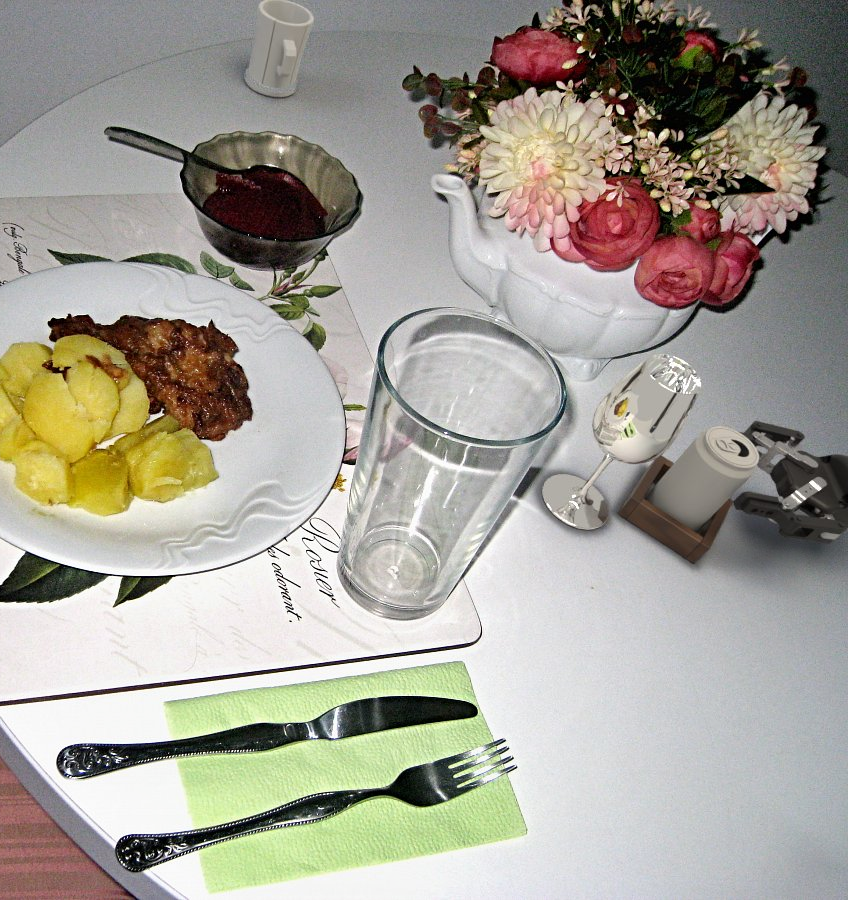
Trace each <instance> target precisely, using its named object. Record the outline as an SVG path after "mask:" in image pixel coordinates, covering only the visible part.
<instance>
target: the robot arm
mask: <svg viewBox="0 0 848 900" xmlns="http://www.w3.org/2000/svg"><path fill="white" fill-rule="evenodd" d="M738 432H739V433H741V434H743V435H744V436H745V437H747V438H748V439H749V440H750V441H751V442H752V443H753V444H754V446H755V447H756V448H757V447H761V448H764V449H766V450H767V451H766V452H765V453H763V452H761V451H760V450H758V449H757V451H758V454H759V461H758V463H757V464H756V467H757V468H759V469H760V470H762V471H763V472H764V473H766V474H767V475H769V476H770V478H771V480H772V481H773V483H774V485H775V488H776V492H777V495H778V496H774V495H768V494H764V493H758V492H753V491H743V492H741V493H740V494H739V495H738V496H737V497H736V498H735V499H734V500H733V503H732V505H733V506H734V509H735V510H736V511H741V512H742V513H743V514H746V515H750V516H757V517H761V518H767V520H768V521H770V522H771V523H773V524H777V526H778V527H779V528H778V530H777V532H778V534H779V535H780V536H781V538H785V539H789V540H790V539H791V540H797V541H805V542H812V543H813V542H814V543H820V544H827V545H830V544H832V543H833V542H834V541H835V540H837V539H838V538H839V537H840V536H842V535H843V534H844V533H845V532H846V531H847V530H848V455H844V454H839V453H837V454H836V453H834V454H829V455H822V456H815V455H813V454H811V453H809V452H808V451H805V450H804V449H803V448H802V444H801V442H803V441H804V439H805V438H806V436H805V434H804V433H803V432H801V431H799V430H796V429H792V428H787V427H783V426H779V425H776V424H772V423H767V422H762V421H760V420H759V421H758V420H753V422H752V423H751V424H750V425H749V426H748V427H747V428H746V430H744V432H743V431H742V432H741V431H738ZM777 455H782V456H783V457H782V458H781V459H780V460H779V461H778V462H777V463H776V464H775V465H774V464H773V463H772V462H771V461H772V459H774V458H775V457H776V456H777ZM779 497H781V498H782V500H781V501H780V499H779ZM798 511H801V512H802V513H804V514H805V515H802V514H795V513H796V512H798Z"/></svg>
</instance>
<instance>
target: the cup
mask: <svg viewBox="0 0 848 900" xmlns="http://www.w3.org/2000/svg"><path fill="white" fill-rule="evenodd" d="M256 15H257V17H256V23H255V30H254V31H255V32H254V37H253V44H252V50H251V55H250V59H249V64H248V66H249V74H250V76H251V77H252V78H253V79H254V80H256V81H257V82H259V85H260V84H262V86H263V85H265V86H263V87H266V86H267V88H269V87H273V88H272V89H274V88H282V87H283V88H284V87H287V86H289V85H292V84H293V83H294V82H295V80H296V78H297V76H298V73H299V69H300V66H301V61H302V58H303V55H304V51H305V49H306V45H307V42H308V40H309V37H310V33H311V30H312V28H313V24H314V21H315V17H314V14H313V13H312V12H311V11H310V10H309V9H307V8H306V7H305V6H302V5H301V4H298V3H296V2H294V1H290V0H263V1H262V0H261V2H259V4H258V8H257V14H256ZM243 77H244V81H245V83H246V84H247V86H248V87H249V88H250V89H252V91H254V92H256V93H257V94H260V95H263V96H267V97H270V98H286V97H290V96H291V95H293V94H294V93H295V92H293V91H291V92H287V93H274V92H269V91H266V90H263V89H260V88H258V87H256V86H254V85H253V84H251V83H250V82H249V81H248V80H247V78H246V77H245V74H244V76H243ZM250 79H251V78H250ZM254 82H255V81H254ZM269 89H271V88H269Z"/></svg>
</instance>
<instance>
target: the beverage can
mask: <svg viewBox="0 0 848 900" xmlns="http://www.w3.org/2000/svg"><path fill="white" fill-rule="evenodd" d="M739 432H740V431H737V430H735V429H733V428H730V427H727V426H722V425H714V426H711V427H710V428H708V429H707V430H706V431H703V432H701V433H699V434H698V435H697V436H696V437H695V438H694V439H693V441H692V442H691V443H690V444H689V445H688V447H687V448H686V449H685V450H684V451H683V452H682V454H681V455H680V456H679V457H678V458H677V459H676V461H675V462H673V463H674V464H673V465H672V467H671V468H670V469H669V470H668V471H667V472H666V474H665V475H664V476H663V477H662V478H661V479H660V481H659V482H658V483H657V484H656V483H655V485H654V487H653V488H652V489H651V490H650V491H648V493H647V495H646V499H645V500H647V501H648V502H650V503H651V504H653V505H654V506H656V507H657V508H659V509H660V510H662V511H663V512H665V513H667V514H668V515H670V516H671V517H673V518H674V519H676V520H677V521H679V522H680V523H682V524H683V525H685V526H687V527H688V528H690V529H691V530H693V531H694V532H696V533H697V532H699V531H700V530H701V528H702V526H703V525H704V524H705V523H706V522H707V521H708V520H709V519H710V518H711V517H712V516H713V515H714V513H715V512H716V511H717V510H718V509H719V508H720V507H721V506H722V505H723V504H724V503H725V502H726V501H727V500H728V499H729V498H730V499H731V497H732V496H733V495H734V494H735V493H736V492H737V491H738V490H739V489H741V487H742V486H743V485H744V484H745V483H746V482H747V481H748V480H749V479H750V478H751V477H752V476H753V475H754V474H755V470H756V466H757V463H758V461H759V454H758V451H759V450H758V449H757V447H755V446H754V444H753V443H752V442H751V441H750V440H749V439H748V438H747V437H745V436H744V435H743V434H741V433H739ZM757 450H758V451H757Z"/></svg>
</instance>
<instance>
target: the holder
mask: <svg viewBox="0 0 848 900" xmlns="http://www.w3.org/2000/svg"><path fill="white" fill-rule="evenodd" d="M674 463H675V462H673V461H672V460H669V459H668V458H666V457H665V456H663V454H662V455H661V456H659V457H658V458H656V459H654V460H652V461H651V463H650V464H649V465H648V467H646V469H645V470H644V472H643V473H642V475H641V477H640V478H639V480H638V481H637V483H636V484H635V486H634V487H633V489H632V491H631V492H630V493H629V495H628V497H627V498H626V500H625V502H624V503H623V504H622V506H621V508H620V509H619V511H618V512H617V514H618V515H619V516H620V517H622V518H623V519H624V520H626V521H628V522H630V523H631V524H633V525H634V526H636V527H637V528H639V529H640V530H641V531H643V532H644V533H646V534H648V535H649V536H651V537H653V538H654V539H656V540H657V541H658V542H660V543H662V544H663V545H665V546H666V547H668V548H669V549H670V550H672V551H673V552H675V553H677V554H678V555H680V556H681V557H683V558H684V559H685V560H686V561H688V562H690V563H692V564H694V565H695V564H696V563H697V562H698V561H699V560H700V559H701V558H702V557H703V556H704V555H705V554H706V553H707V552H708V551H709V550H710V549H711V546H712V545H713V544H714V541H715V539H716V537H717V535H718V533H719V531H720V529H721V528H722V525H723V524H724V521H725V519H726V517H727V515H728V513H729V511H730V509H731V507H732V506H733V502H734V500H733V499H731V497H730V498H729V499H728V500H727V501H726V502H725V503H724V504H723V505H722V506H721V507H720V508H719V509H718V510H717V511H716V512H715V513H714V515H713V516H712V517H711V518H710V519H709V520H708V521H707V522H706V523H705V524H704V525H703V526H702V527H701V528H700V529H699V531H698V533H697V532H694V531H693V530H691V529H690V528H688V527H687V526H685V525H683V524H682V523H680V522H679V521H677V520H676V519H674V518H673V517H671V516H670V515H668V514H667V513H665V512H663V511H662V510H660V509H659V508H657V507H656V506H654V505H653V504H651V503H650V502H648V501H647V500H646V499H645V498H644V497H645V496H646V494H647V492H648V490H649V489H650V487H651V485H652V484H653V483H655V485H656V484H657V483H658V482H659V481H660V479H661V478H662V477H663V476H664V475H665V474H666V472H667V471H668V470H669V469H670V468H671V467H672V465H673V464H674Z"/></svg>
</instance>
